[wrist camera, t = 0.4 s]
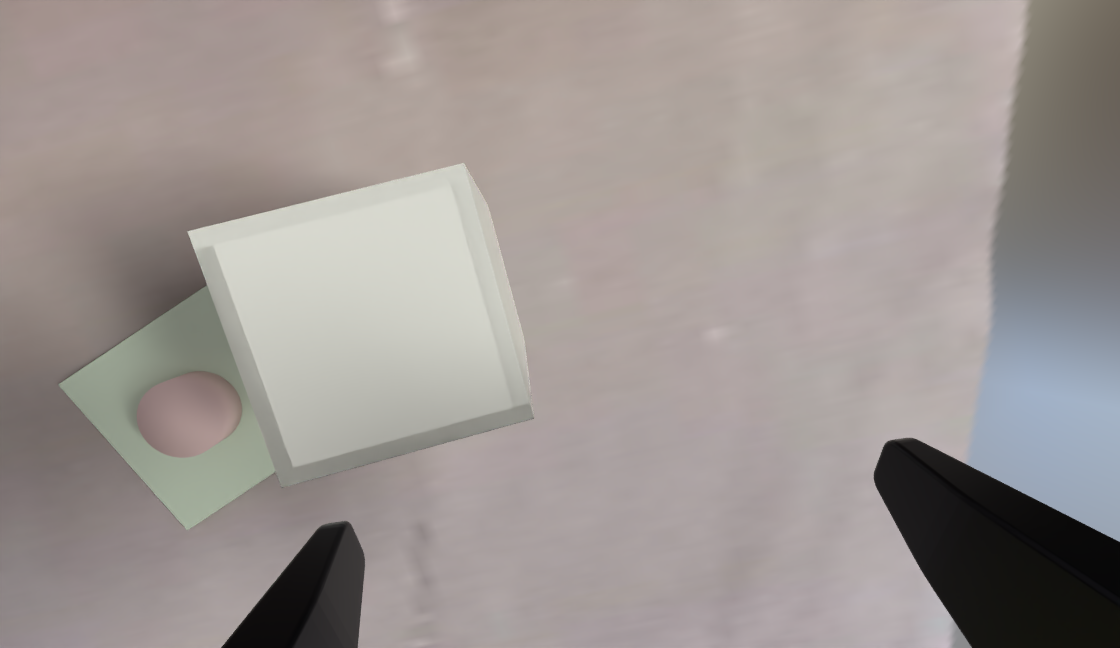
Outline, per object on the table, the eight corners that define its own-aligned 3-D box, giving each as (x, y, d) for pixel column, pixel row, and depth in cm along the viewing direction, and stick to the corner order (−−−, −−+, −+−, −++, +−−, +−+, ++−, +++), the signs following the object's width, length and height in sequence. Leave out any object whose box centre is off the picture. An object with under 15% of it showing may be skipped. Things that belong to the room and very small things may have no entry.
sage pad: (340, 427, 23) (338, 429, 22) (191, 526, 23) (187, 530, 22) (222, 276, 21) (218, 277, 21) (64, 382, 21) (57, 384, 21)
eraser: (214, 457, 22) (193, 472, 21) (146, 415, 22) (120, 427, 20) (257, 399, 22) (239, 410, 20) (189, 356, 21) (166, 364, 20)
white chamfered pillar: (524, 339, 23) (533, 418, 12) (392, 374, 23) (281, 488, 12) (488, 206, 22) (463, 162, 11) (350, 241, 22) (187, 231, 11)
